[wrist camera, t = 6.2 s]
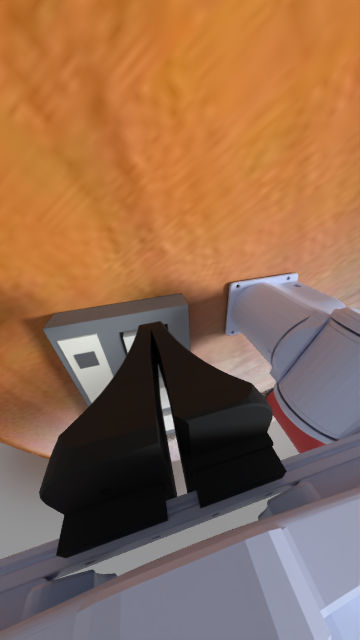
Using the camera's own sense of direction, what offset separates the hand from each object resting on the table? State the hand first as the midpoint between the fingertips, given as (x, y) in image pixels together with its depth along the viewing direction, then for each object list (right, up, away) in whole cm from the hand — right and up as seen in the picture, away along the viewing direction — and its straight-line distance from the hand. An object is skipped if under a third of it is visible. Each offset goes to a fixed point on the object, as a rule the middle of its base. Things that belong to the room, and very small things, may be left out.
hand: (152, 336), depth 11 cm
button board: (-4, -8, +16) cm, 18 cm away
